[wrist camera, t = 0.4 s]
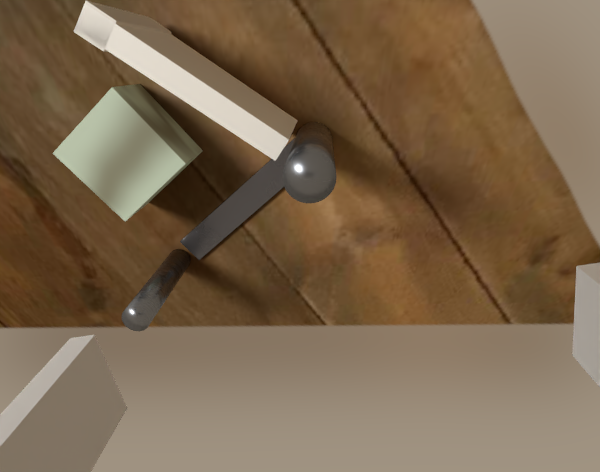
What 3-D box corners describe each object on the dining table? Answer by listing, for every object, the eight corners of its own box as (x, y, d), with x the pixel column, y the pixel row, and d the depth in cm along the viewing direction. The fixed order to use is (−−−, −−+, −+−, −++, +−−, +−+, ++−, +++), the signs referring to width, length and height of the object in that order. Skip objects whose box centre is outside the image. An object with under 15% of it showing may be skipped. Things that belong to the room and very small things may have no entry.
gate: (298, 118, 33) (290, 137, 25) (286, 138, 34) (274, 163, 25) (149, 17, 31) (85, 0, 23) (139, 39, 32) (73, 31, 23)
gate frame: (160, 254, 39) (96, 329, 28) (315, 113, 34) (311, 138, 23) (184, 276, 40) (131, 358, 29) (339, 142, 35) (347, 180, 24)
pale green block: (87, 141, 36) (52, 153, 31) (140, 83, 34) (112, 87, 29) (149, 201, 38) (125, 221, 33) (203, 150, 36) (185, 163, 31)
